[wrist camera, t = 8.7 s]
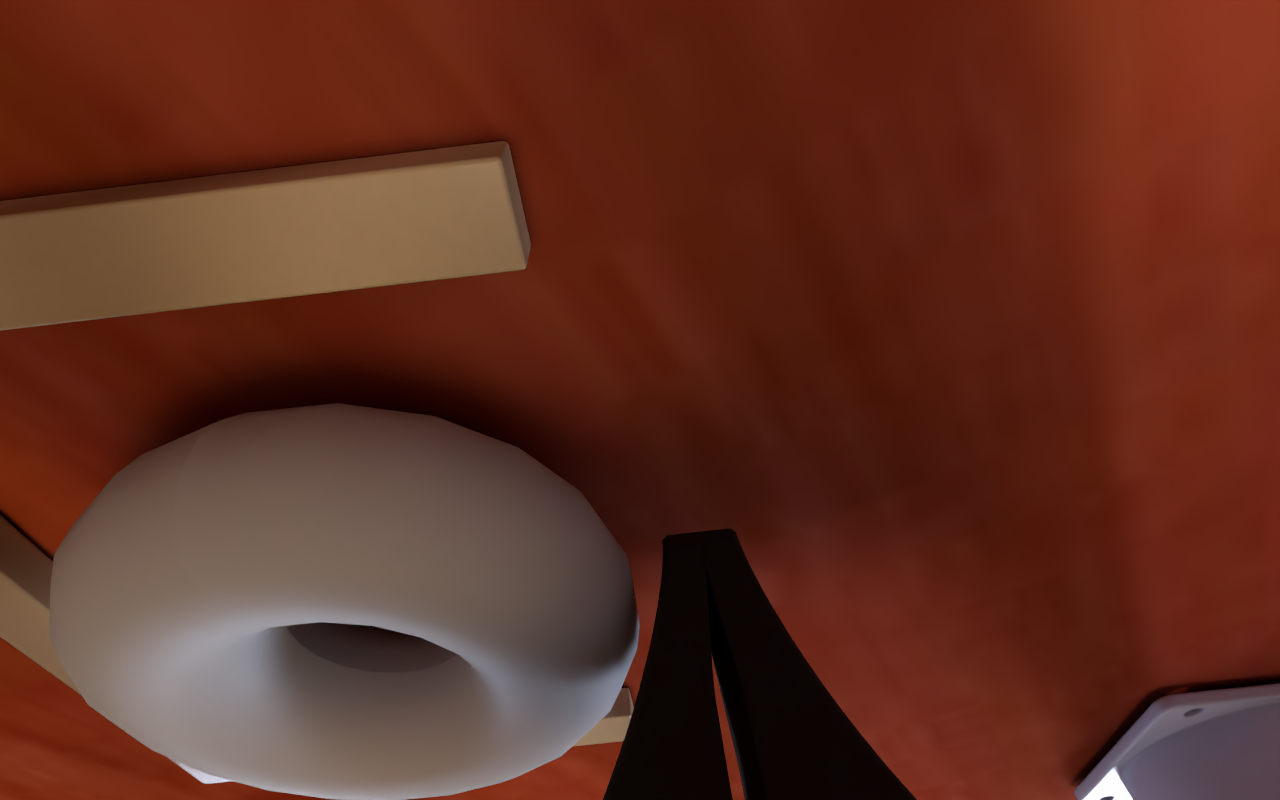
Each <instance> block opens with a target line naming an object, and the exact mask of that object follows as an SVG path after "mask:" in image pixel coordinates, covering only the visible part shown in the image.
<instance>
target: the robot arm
mask: <svg viewBox="0 0 1280 800" xmlns="http://www.w3.org/2000/svg"><path fill="white" fill-rule="evenodd" d="M662 544H663V565H662V578H661V586H660V594H659V601H658V607H657V613H656V618H655V623H654V629H653V634H652V639H651V644H650V648H649V653H648V656H647V660H646V664H645V668H644V672H643V676H642V680H641V684H640V688H639V692H638V696H637V699H636V703H635V706H634V710H633V713H632V716H631V720H630V723H629V726H628V729H627V732H626V735H625V738H624V742H623V745H622V748H621V751H620V754H619V757H618V759H617V762H616V765H615V768H614V771H613V773H612V776H611V779H610V782H609V785H608V787H607V790H606V793H605V796H604V798H603V800H732V794H731V788H730V782H729V776H728V771H727V765H726V759H725V753H724V747H723V741H722V735H721V729H720V723H719V717H718V711H717V705H716V699H715V690H714V681H713V670H712V657H713V661H714V665H715V669H716V674H717V678H718V682H719V686H720V690H721V695H722V699H723V703H724V707H725V711H726V715H727V720H728V724H729V728H730V732H731V736H732V740H733V745H734V749H735V753H736V757H737V761H738V766H739V771H740V776H741V781H742V786H743V791H744V797H745V800H916V798H915V797H914V796H913V795H912V794H911V793H910V792H909V791H908V789H907V788H906V787H905V786H904V785H903V784H902V783H901V781H900V780H899V779H898V778H897V777H896V776H895V775H894V773H893V772H892V771H891V770H890V769H889V768H888V767H887V766H886V764H885V763H884V762H883V761H882V760H881V758H880V757H879V756H878V755H877V754H876V752H875V751H874V750H873V749H872V747H871V746H870V745H869V744H868V742H867V741H866V740H865V739H864V738H863V736H862V735H861V734H860V733H859V731H858V730H857V729H856V728H855V726H854V725H853V724H852V722H851V721H850V720H849V719H848V717H847V716H846V715H845V713H844V712H843V711H842V709H841V708H840V707H839V706H838V704H837V703H836V702H835V700H834V699H833V698H832V696H831V695H830V693H829V692H828V691H827V689H826V688H825V687H824V685H823V684H822V682H821V681H820V680H819V678H818V677H817V675H816V674H815V672H814V671H813V669H812V668H811V667H810V665H809V664H808V662H807V661H806V659H805V658H804V656H803V655H802V653H801V652H800V650H799V649H798V647H797V646H796V644H795V643H794V641H793V640H792V638H791V637H790V635H789V633H788V632H787V630H786V628H785V627H784V625H783V623H782V622H781V620H780V619H779V617H778V615H777V614H776V612H775V610H774V609H773V607H772V605H771V604H770V602H769V600H768V598H767V597H766V595H765V593H764V591H763V590H762V588H761V586H760V584H759V582H758V580H757V578H756V576H755V575H754V573H753V571H752V569H751V567H750V565H749V563H748V560H747V558H746V556H745V554H744V552H743V549H742V547H741V545H740V542H739V540H738V537H737V535H736V532H735V531H733V530H732V529H721V530H712V531H703V532H694V533H684V534H675V535H667V536H666V537H665V538H664V539H663V540H662ZM711 653H712V655H711ZM1074 794H1075V796H1076V798H1077V799H1078V800H1280V683H1277V684H1268V685H1258V686H1248V687H1238V688H1229V689H1219V690H1209V691H1200V692H1190V693H1180V694H1172V695H1167V696H1164V697H1161V698H1159V699H1157V700H1155V701H1154V702H1153V703H1152V704H1151V705H1150V706H1149V707H1148V708H1147V710H1146V711H1145V712H1144V713H1143V714H1142V715H1141V716H1140V717H1139V718H1138V720H1137V721H1136V722H1135V723H1134V724H1133V725H1132V726H1131V727H1130V729H1129V730H1128V731H1127V732H1126V733H1125V734H1124V735H1123V736H1122V737H1121V739H1120V740H1119V741H1118V742H1117V743H1116V744H1115V745H1114V746H1113V747H1112V749H1111V750H1110V751H1109V752H1108V753H1107V754H1106V755H1105V756H1104V758H1103V759H1102V760H1101V761H1100V762H1099V763H1098V764H1097V765H1096V766H1095V768H1094V769H1093V770H1092V771H1091V772H1090V773H1089V774H1088V775H1087V776H1086V778H1085V779H1084V780H1083V781H1082V782H1081V783H1080V784H1079V785H1078V787H1077V788H1076V789H1075V791H1074Z"/></svg>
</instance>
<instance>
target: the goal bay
mask: <svg viewBox="0 0 1280 800" xmlns="http://www.w3.org/2000/svg"><path fill="white" fill-rule="evenodd" d="M530 248H531V242H530V238H529V233H528V229H527V224H526V220H525V215H524V211H523V206H522V202H521V197H520V193H519V188H518V184H517V179H516V175H515V170H514V166H513V161H512V157H511V152H510V148H509V145H508V143H507V142H504V141H499V142H490V143H482V144H474V145H465V146H457V147H448V148H440V149H432V150H423V151H415V152H407V153H398V154H390V155H381V156H373V157H365V158H356V159H348V160H340V161H331V162H323V163H314V164H306V165H298V166H289V167H281V168H273V169H264V170H256V171H247V172H239V173H231V174H222V175H214V176H206V177H197V178H189V179H180V180H172V181H164V182H155V183H147V184H138V185H130V186H122V187H113V188H105V189H97V190H88V191H80V192H71V193H63V194H55V195H46V196H38V197H30V198H21V199H13V200H4V201H0V330H8V329H17V328H26V327H34V326H43V325H52V324H60V323H69V322H78V321H86V320H95V319H103V318H112V317H121V316H129V315H138V314H147V313H155V312H164V311H172V310H181V309H190V308H198V307H207V306H216V305H224V304H233V303H241V302H250V301H259V300H267V299H276V298H285V297H293V296H302V295H310V294H319V293H328V292H336V291H345V290H354V289H362V288H371V287H379V286H388V285H397V284H405V283H414V282H423V281H431V280H440V279H448V278H457V277H466V276H474V275H483V274H492V273H500V272H509V271H517V270H523V269H525V268H526V266H527V261H528V257H529V252H530ZM52 570H53V561H52V560H51V559H49V558H48V557H47V556H46V555H45V554H44V553H43V552H42V551H40V550H39V549H38V548H37V547H36V546H35V545H34V544H33V543H31V542H30V541H29V540H28V539H27V538H26V537H25V536H24V535H22V534H21V533H20V532H19V531H18V530H17V529H16V528H15V527H13V526H12V525H11V524H10V523H9V522H8V521H7V520H6V519H4V518H3V517H2V516H1V515H0V637H1V638H3V639H4V640H5V641H7V642H8V643H10V644H11V645H12V646H14V647H15V648H17V649H18V650H19V651H21V652H22V653H23V654H25V655H26V656H28V657H29V658H30V659H32V660H33V661H34V662H36V663H37V664H39V665H40V666H41V667H43V668H44V669H46V670H47V671H48V672H50V673H51V674H52V675H54V676H55V677H57V678H58V679H59V680H61V681H62V682H64V683H65V684H66V685H68V686H69V687H70V688H72V689H73V690H75V691H76V692H77V693H79V694H80V695H81V693H80V692H79V690H78V689H77V687H76V686H75V684H74V683H73V681H72V680H71V678H70V677H69V675H68V674H67V672H66V671H65V669H64V668H63V666H62V665H61V663H60V661H59V659H58V657H57V654H56V652H55V650H54V647H53V645H52V642H51V640H50V638H49V626H50V586H51V578H52ZM633 710H634V707H633V703H632V698H631V694H630V689H629V688H621V690H620V692H619V694H618V696H617V698H616V700H615V702H614V704H613V706H612V709H611V711H610V712H609V713H608V714H607V715H606V716H605V717H604V718H603V719H602V720H601V721H600V722H598V723H597V724H596V725H595V726H594V727H593V728H592V729H591V730H590V731H589V732H588V733H587V734H586V735H584V736H583V737H582V738H581V739H580V740H579V741H578V742H577V743H576V744H574V745H573V746H581V745H590V744H600V743H610V742H619V741H624V738H625V735H626V732H627V729H628V726H629V723H630V720H631V716H632V713H633ZM166 757H167V756H166ZM167 758H169V757H167ZM169 759H170V760H171V761H173V762H174V763H176V764H177V765H178V766H180V767H181V768H183V769H184V770H185V771H187V772H188V773H189V774H191V775H192V776H194V777H195V778H196V779H198V780H199V781H201V782H202V783H203V784H210V783H219V782H229V781H231V780H227V779H223V778H220V777H216V776H212V775H208V774H206V773H204V772H201V771H199V770H197V769H194V768H192V767H190V766H187V765H185V764H183V763H180V762H178V761H176V760H174V759H171V758H169Z"/></svg>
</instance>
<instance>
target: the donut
mask: <svg viewBox="0 0 1280 800" xmlns="http://www.w3.org/2000/svg"><path fill="white" fill-rule="evenodd" d="M365 625H367V626H365ZM369 626H375V627H379V628H383V629H388V630H382V629H378V628H374V627H369ZM639 627H640V623H639V617H638V611H637V605H636V599H635V593H634V587H633V581H632V576H631V572H630V567H629V563H628V559H627V555H626V554H625V552H624V551H623V549H622V548H621V547H620V545H619V544H618V542H617V541H616V540H615V538H614V537H613V536H612V534H611V533H610V531H609V530H608V529H607V527H606V526H605V524H604V523H603V522H602V520H601V519H600V518H599V516H598V515H597V513H596V512H595V511H594V509H593V508H592V506H591V505H590V504H589V502H588V501H587V500H586V498H585V497H584V496H583V494H582V493H581V492H580V491H579V490H578V489H576V488H575V487H574V486H572V485H571V484H569V483H568V482H567V481H565V480H564V479H562V478H561V477H559V476H558V475H557V474H555V473H554V472H552V471H551V470H550V469H548V468H547V467H545V466H544V465H542V464H541V463H540V462H538V461H537V460H535V459H534V458H533V457H531V456H530V455H528V454H527V453H525V452H524V451H523V450H521V449H520V448H518V447H515V446H513V445H510V444H507V443H505V442H502V441H499V440H497V439H494V438H491V437H489V436H486V435H483V434H481V433H478V432H475V431H473V430H470V429H467V428H465V427H462V426H459V425H457V424H454V423H451V422H449V421H446V420H443V419H441V418H438V417H435V416H430V415H423V414H415V413H408V412H400V411H393V410H385V409H378V408H370V407H363V406H355V405H348V404H340V403H333V404H324V405H314V406H305V407H296V408H286V409H277V410H268V411H258V412H249V413H243V414H240V415H236V416H233V417H230V418H227V419H223V420H220V421H218V422H215V423H213V424H211V425H208V426H206V427H204V428H202V429H199V430H197V431H195V432H192V433H190V434H188V435H185V436H183V437H181V438H179V439H176V440H174V441H172V442H169V443H167V444H165V445H162V446H160V447H158V448H155V449H153V450H151V451H149V452H146V453H144V454H142V455H140V456H139V457H138V458H136V459H135V460H134V461H133V462H131V463H130V464H129V465H127V466H126V467H125V468H123V469H122V470H121V471H120V472H118V473H117V474H116V475H115V476H114V477H113V478H112V479H111V480H110V481H109V483H108V484H107V485H106V486H105V487H104V488H103V490H102V491H101V492H100V493H99V494H98V496H97V497H96V498H95V499H94V500H93V501H92V503H91V504H90V505H89V506H88V507H87V509H86V510H85V511H84V512H83V513H82V514H81V516H80V517H79V518H78V519H77V520H76V522H75V523H74V524H73V525H72V527H71V528H70V530H69V531H68V533H67V535H66V536H65V538H64V540H63V541H62V543H61V544H60V546H59V548H58V549H57V551H56V553H55V554H54V561H53V570H52V578H51V586H50V626H49V638H50V640H51V642H52V645H53V647H54V650H55V652H56V654H57V657H58V659H59V661H60V663H61V665H62V666H63V668H64V669H65V671H66V672H67V674H68V675H69V677H70V678H71V680H72V681H73V683H74V684H75V686H76V687H77V689H78V690H79V692H80V693H81V695H82V696H83V698H84V699H85V701H86V702H87V704H88V705H89V706H90V707H92V708H93V709H94V710H96V711H97V712H99V713H100V714H101V715H103V716H104V717H106V718H107V719H108V720H110V721H111V722H113V723H114V724H115V725H117V726H118V727H120V728H121V729H122V730H124V731H125V732H126V733H128V734H129V735H131V736H132V737H133V738H135V739H136V740H138V741H139V742H141V743H142V744H144V745H145V746H147V747H148V748H150V749H151V750H153V751H155V752H157V753H160V754H162V755H164V756H167V757H169V758H171V759H174V760H176V761H178V762H180V763H183V764H185V765H187V766H190V767H192V768H194V769H197V770H199V771H201V772H204V773H206V774H208V775H212V776H216V777H220V778H223V779H227V780H231V781H235V782H239V783H242V784H246V785H250V786H254V787H257V788H261V789H265V790H269V791H276V792H283V793H290V794H298V795H305V796H312V797H319V798H327V799H342V800H405V799H416V798H426V797H436V796H446V795H453V794H457V793H461V792H465V791H469V790H473V789H477V788H481V787H485V786H490V785H494V784H498V783H501V782H504V781H507V780H510V779H512V778H515V777H518V776H520V775H522V774H524V773H526V772H528V771H531V770H533V769H535V768H537V767H539V766H541V765H544V764H546V763H548V762H550V761H552V760H554V759H556V758H559V757H561V756H562V755H563V754H564V753H565V752H567V751H568V750H569V749H570V748H571V747H572V746H573V745H574V744H576V743H577V742H578V741H579V740H580V739H581V738H582V737H583V736H584V735H586V734H587V733H588V732H589V731H590V730H591V729H592V728H593V727H594V726H595V725H596V724H597V723H598V722H600V721H601V720H602V719H603V718H604V717H605V716H606V715H607V714H608V713H609V712H610V711H611V709H612V706H613V704H614V702H615V700H616V698H617V696H618V694H619V692H620V690H621V688H622V685H623V683H624V680H625V678H626V675H627V673H628V670H629V668H630V665H631V663H632V660H633V658H634V656H635V653H636V651H637V645H638V636H639Z"/></svg>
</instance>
